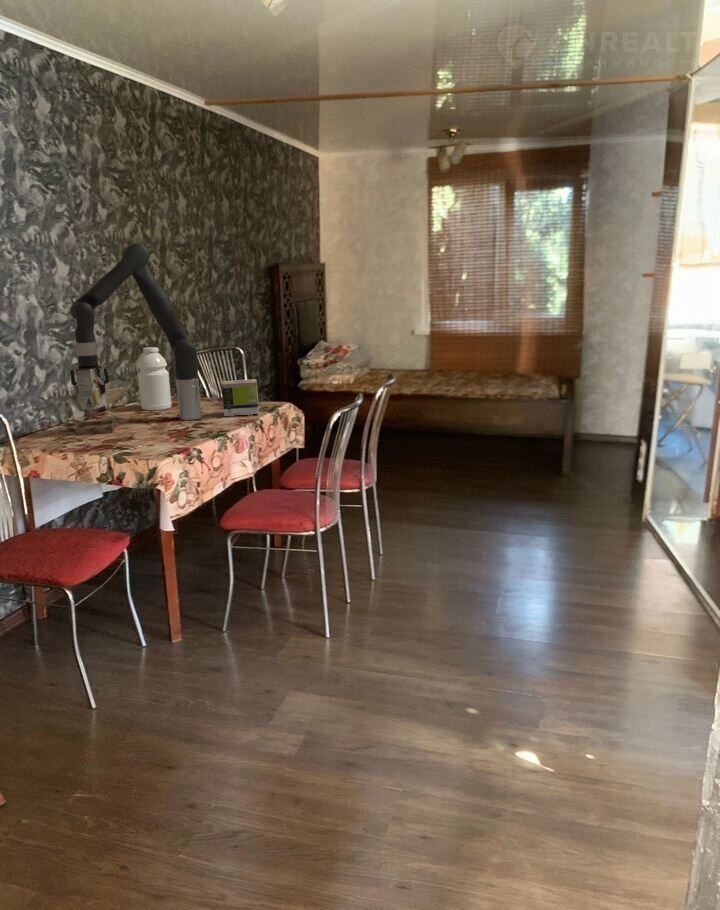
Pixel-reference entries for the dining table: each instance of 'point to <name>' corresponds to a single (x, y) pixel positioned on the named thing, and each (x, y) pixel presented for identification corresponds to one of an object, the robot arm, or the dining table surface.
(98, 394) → the coffee box
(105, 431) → the walnut tray
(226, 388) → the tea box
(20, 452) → the dining table surface
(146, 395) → the bottle
